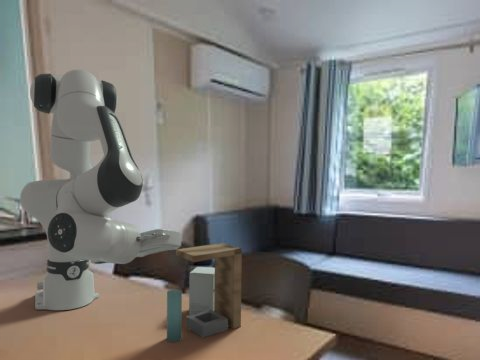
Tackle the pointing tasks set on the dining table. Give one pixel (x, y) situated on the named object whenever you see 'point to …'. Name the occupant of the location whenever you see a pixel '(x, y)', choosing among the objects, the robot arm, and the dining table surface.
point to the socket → (207, 323)
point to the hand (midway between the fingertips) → (159, 249)
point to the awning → (222, 277)
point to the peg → (174, 315)
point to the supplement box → (201, 290)
